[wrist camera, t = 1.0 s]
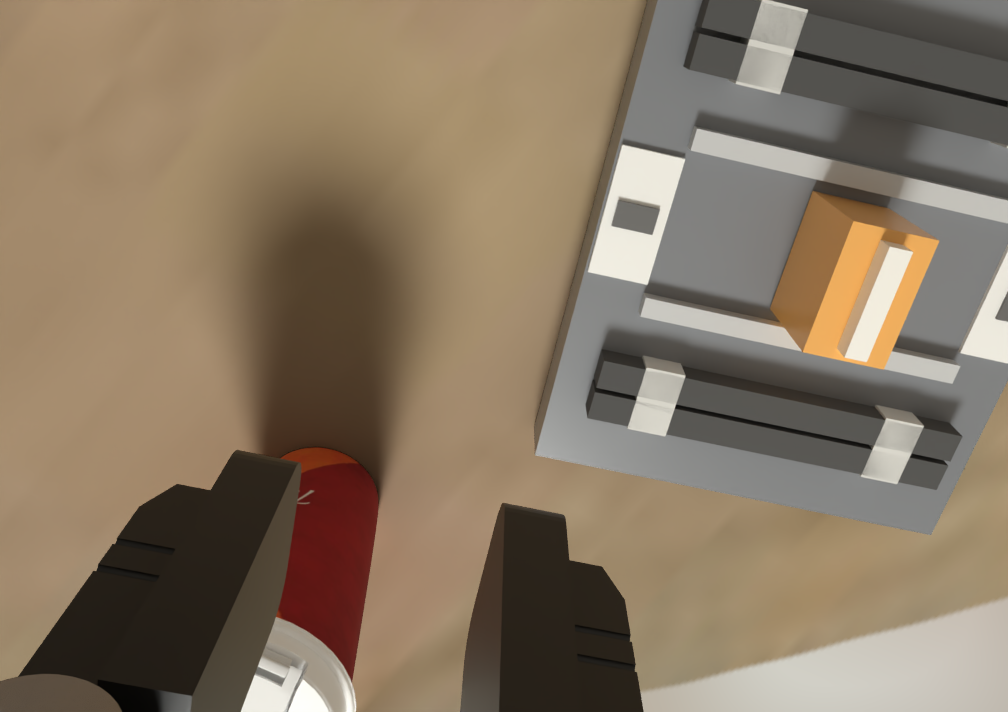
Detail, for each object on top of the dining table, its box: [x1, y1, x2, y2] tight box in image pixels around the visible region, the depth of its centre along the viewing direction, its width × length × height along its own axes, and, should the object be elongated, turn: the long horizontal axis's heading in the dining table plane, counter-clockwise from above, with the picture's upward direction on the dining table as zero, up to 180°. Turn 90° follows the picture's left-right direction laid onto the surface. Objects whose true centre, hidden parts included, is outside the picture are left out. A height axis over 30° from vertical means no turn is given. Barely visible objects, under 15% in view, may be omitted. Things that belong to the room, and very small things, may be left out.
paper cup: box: [241, 447, 378, 712], centre depth 35 cm, size 8×8×14 cm
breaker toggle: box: [770, 191, 939, 370], centre depth 32 cm, size 5×3×5 cm, turn 167°
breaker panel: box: [534, 0, 1008, 535], centre depth 35 cm, size 22×18×3 cm
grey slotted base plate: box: [585, 0, 1008, 490], centre depth 35 cm, size 17×15×4 cm
